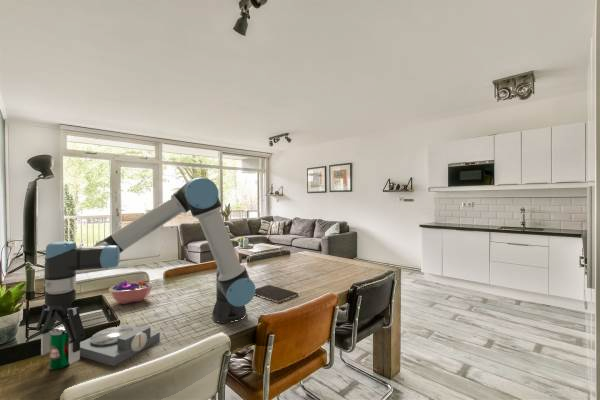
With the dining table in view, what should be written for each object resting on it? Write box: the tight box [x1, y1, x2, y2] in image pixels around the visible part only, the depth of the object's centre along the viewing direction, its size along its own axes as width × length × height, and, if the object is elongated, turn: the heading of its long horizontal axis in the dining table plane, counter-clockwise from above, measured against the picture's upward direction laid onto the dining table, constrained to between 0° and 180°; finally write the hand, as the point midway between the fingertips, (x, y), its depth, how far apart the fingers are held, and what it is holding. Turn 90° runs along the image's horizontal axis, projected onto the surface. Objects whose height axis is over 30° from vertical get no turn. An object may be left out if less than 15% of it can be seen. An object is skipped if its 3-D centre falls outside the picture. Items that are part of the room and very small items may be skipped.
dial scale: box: [80, 323, 161, 367], centre depth 102 cm, size 21×18×7 cm
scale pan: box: [90, 325, 133, 346], centre depth 103 cm, size 13×13×1 cm
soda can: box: [49, 325, 71, 371], centre depth 90 cm, size 5×5×12 cm
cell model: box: [108, 280, 153, 305], centre depth 146 cm, size 17×20×11 cm
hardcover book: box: [255, 284, 299, 303], centre depth 159 cm, size 16×23×2 cm
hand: (60, 357), depth 90 cm, fingers open, 13 cm apart
